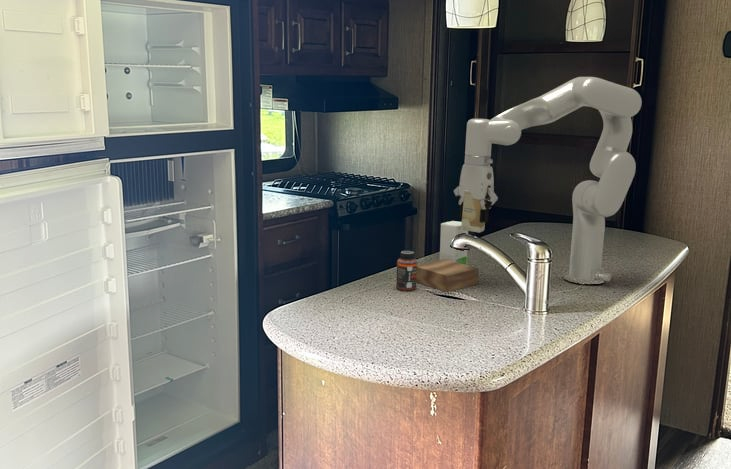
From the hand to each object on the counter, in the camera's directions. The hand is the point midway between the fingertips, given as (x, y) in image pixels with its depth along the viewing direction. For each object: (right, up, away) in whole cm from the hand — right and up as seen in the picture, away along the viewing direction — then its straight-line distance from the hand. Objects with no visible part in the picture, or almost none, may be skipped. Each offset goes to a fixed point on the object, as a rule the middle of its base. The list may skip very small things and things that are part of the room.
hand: (473, 219), depth 216 cm
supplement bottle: (-20, -21, -1) cm, 29 cm away
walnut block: (-8, -19, +6) cm, 22 cm away
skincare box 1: (-4, -16, +22) cm, 28 cm away
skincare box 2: (0, -4, +1) cm, 4 cm away
